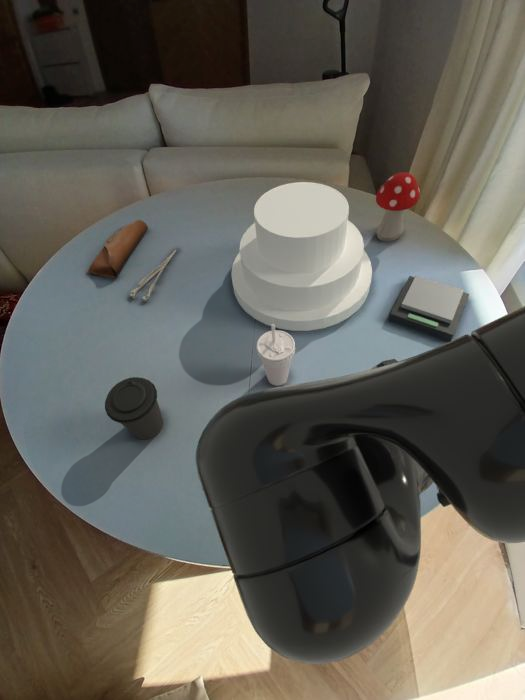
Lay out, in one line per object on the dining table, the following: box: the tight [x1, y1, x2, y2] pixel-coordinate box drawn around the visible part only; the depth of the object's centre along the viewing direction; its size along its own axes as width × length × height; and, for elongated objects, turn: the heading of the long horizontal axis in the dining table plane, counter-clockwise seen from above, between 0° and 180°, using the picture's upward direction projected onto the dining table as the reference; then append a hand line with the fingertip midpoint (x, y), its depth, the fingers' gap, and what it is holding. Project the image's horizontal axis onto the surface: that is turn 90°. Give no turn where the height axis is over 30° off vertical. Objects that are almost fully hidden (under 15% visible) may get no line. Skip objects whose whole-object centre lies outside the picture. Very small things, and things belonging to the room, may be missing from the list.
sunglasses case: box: [87, 219, 149, 279], centre depth 96 cm, size 18×7×7 cm, turn 167°
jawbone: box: [129, 249, 177, 302], centre depth 91 cm, size 17×5×2 cm, turn 160°
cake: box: [230, 181, 373, 332], centre depth 80 cm, size 30×30×18 cm
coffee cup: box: [104, 376, 164, 441], centre depth 64 cm, size 8×8×10 cm
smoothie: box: [256, 324, 296, 387], centre depth 66 cm, size 6×6×14 cm
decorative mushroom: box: [375, 171, 421, 242], centre depth 88 cm, size 10×9×15 cm
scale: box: [388, 275, 470, 342], centre depth 78 cm, size 12×12×3 cm
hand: (431, 418), depth 45 cm, fingers open, 8 cm apart
